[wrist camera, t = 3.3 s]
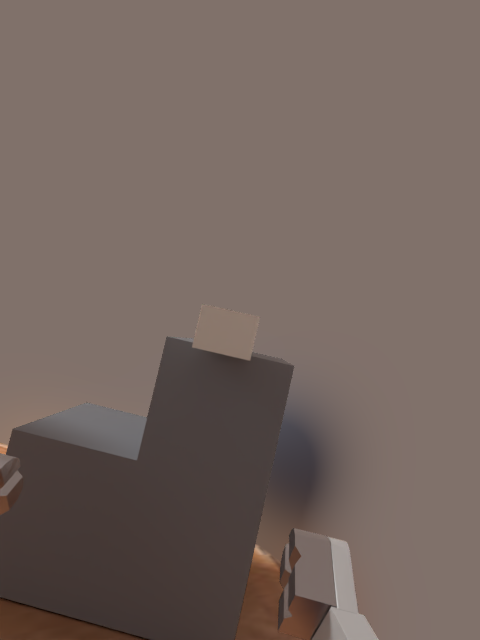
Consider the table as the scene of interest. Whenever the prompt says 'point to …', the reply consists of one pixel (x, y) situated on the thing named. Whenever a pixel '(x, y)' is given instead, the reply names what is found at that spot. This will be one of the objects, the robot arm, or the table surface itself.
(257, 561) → the table surface
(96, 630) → the table surface
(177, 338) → the grey l-shaped step block
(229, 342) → the beige rectangular post
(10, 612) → the table surface
